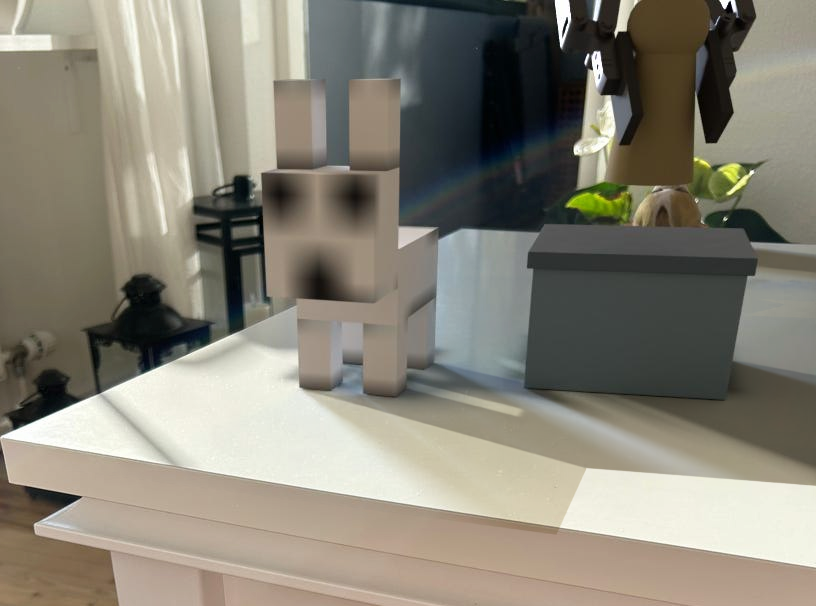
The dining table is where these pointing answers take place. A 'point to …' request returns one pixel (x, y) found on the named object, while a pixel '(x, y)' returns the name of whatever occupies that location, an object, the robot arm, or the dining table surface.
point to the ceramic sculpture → (668, 209)
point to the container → (636, 309)
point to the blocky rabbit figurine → (348, 241)
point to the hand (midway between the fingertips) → (675, 128)
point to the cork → (662, 93)
